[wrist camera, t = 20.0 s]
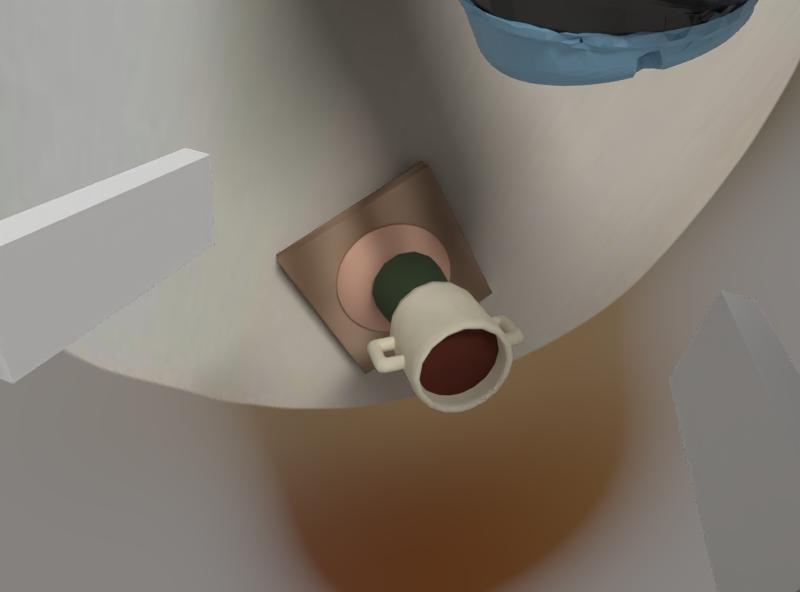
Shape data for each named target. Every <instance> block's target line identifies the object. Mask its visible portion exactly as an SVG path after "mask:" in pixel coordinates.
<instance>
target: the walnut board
mask: <svg viewBox="0 0 800 592" xmlns="http://www.w3.org/2000/svg"><path fill="white" fill-rule="evenodd" d="M414 251H415V252H418V253H421V254H424V255H427V256H430V257H431V258H432V259H433V260H434V261H435V262H436V263H437V264H438V266H439V267H440V268H441V270H442V271H443V273H444V275H445V276H446V278H447V280H448V282H451V283H453V284H455V285H457V286H459V287H461V288H463V289H465V290H466V291H468V292H469V293H470V294H471V295H472V296H473V298H474V299H475V300H476V301H477V302H479V301H481V300H482V299H484V298H485V297H487V296H489V295H490V294H492V292H491V290H490V288H489V286H488V284H487V282H486V280H485V278H484V276H483V274H482V272H481V270H480V268H479V266H478V264H477V262H476V260H475V258H474V256H473V254H472V252H471V250H470V248H469V246H468V244H467V242H466V240H465V238H464V236H463V234H462V232H461V230H460V228H459V226H458V224H457V222H456V220H455V218H454V216H453V214H452V212H451V210H450V208H449V206H448V204H447V202H446V200H445V198H444V196H443V194H442V192H441V190H440V188H439V186H438V184H437V182H436V180H435V178H434V176H433V174H432V172H431V170H430V168H429V166H428V165H426V164H425V163H424V162H421V163H419V164H418V165H416V166H414V167H413V168H411V169H410V170H408V171H407V172H405V173H403V174H402V175H400V176H399V177H397V178H396V179H394V180H393V181H391V182H389V183H388V184H386V185H385V186H383V187H382V188H380V189H378V190H377V191H375V192H374V193H372V194H371V195H369V196H367V197H366V198H364V199H363V200H361V201H360V202H358V203H356V204H355V205H353V206H352V207H350V208H349V209H347V210H346V211H344V212H342V213H341V214H339V215H338V216H336V217H335V218H333V219H331V220H330V221H328V222H327V223H325V224H324V225H322V226H320V227H319V228H317V229H316V230H314V231H313V232H311V233H309V234H308V235H306V236H305V237H303V238H302V239H300V240H299V241H297V242H295V243H294V244H292V245H291V246H289V247H288V248H286V249H284V250H283V251H281V252H280V253H278V254H277V260H278V263H279V264H280V265H281V267H282V268H283V269H284V270H285V272H286V273H287V274H288V276H289V277H290V278H291V279H292V281H293V282H294V283H295V284H296V286H297V287H298V288H299V290H300V291H301V292H302V293H303V295H304V296H305V297H306V299H307V300H308V301H309V302H310V304H311V305H312V306H313V307H314V309H315V310H316V311H317V313H318V314H319V315H320V316H321V318H322V319H323V320H324V322H325V323H326V324H327V325H328V327H329V328H330V329H331V331H332V332H333V333H334V334H335V336H336V337H337V338H338V339H339V341H340V342H341V343H342V345H343V346H344V347H345V348H346V350H347V351H348V352H349V354H350V355H351V356H352V357H353V359H354V360H355V361H356V362H357V364H358V365H359V366H360V368H361V369H362V370H363V371H364V373H365V374H366V373H368V372H369V371H371V370H372V369H374V368H375V367H374V365H373V362H372V360H371V358H370V355H369V353H368V351H367V345H368V343H369V342H370V341H372V340H375V339H380V338H385V337H390V329H391V323H390V322H389V321H388V320H387V319H386V318H385V317H384V316H383V314H382V313H381V312H380V310H379V309H378V308H377V306H376V304H375V301H374V298H373V294H372V292H373V286H374V280H375V277H376V276H377V274H378V272H379V271H380V269H381V268H382V266H383V265H384V263H386V262H387V261H389V260H390V259H392V258H393V257H395V256H396V255H398V254H401V253H408V252H414ZM383 353H384V355H385V357H392V356H394V355H396V354H395V352H394V350H391V351H386V352H383Z"/></svg>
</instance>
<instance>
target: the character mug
mask: <svg viewBox="0 0 800 592" xmlns="http://www.w3.org/2000/svg"><path fill="white" fill-rule="evenodd" d="M372 294H373V298H374V301H375V304H376V306H377V308H378V309H379V310H380V312H381V313H382V314H383V316H384V317H385V318H386V319H387V320H388V321H389V322H390V323H391V329H390V337H385V338H380V339H375V340H372V341H370V342H369V343H368V345H367V351H368V353H369V355H370V358H371V360H372V362H373V365H374V367H375V368H376V370H377V371H379V372H380V373H388V372H393V371H397V370H402V369H403V371H404V373H405V374H406V376H407V378H408V380H409V382H410V384H411V386H412V388H413V390H414V392H415V393H416V395H417V396H418V397H419V398H420V399H421V400H422V401H423V402H424V403H425V404H426V405H427V406H428V407H430V408H432V409H435V410H438V411H441V412H448V413H449V412H450V413H456V412H463V411H466V410H469V409H472V408H474V407H476V406H478V405H480V404H482V403H484V402H485V401H486V400H487V399H489V398H490V397H491V396H492V395H493V394H495V393H496V392H497V391H498V390H499V388H500V387H501V385H502V384H503V383H504V381H505V380H506V378H507V377H508V375H509V372H510V368H511V365H512V362H513V359H514V358H513V352H512V346H514V345H518V344H520V343H521V342H522V341H523V340H524V337H523V334H522V332H521V330H520V329H519V328H518V327H517V326H516V325H515V324H514V323H513V322H512V321H511V320H510V319H509V317H507V316H505V315H496V316H491V317H490V316H489V314H488V313H487V312H486V311H485V310H484V309H483V308H482V307H481V305H480V304H479V303H478V302H477V301H476V300H475V299H474V298H473V296H472V295H471V294H470V293H469V292H468V291H466V290H465V289H463V288H461V287H459V286H457V285H455V284H453V283H451V282H448V280H447V278H446V276H445V275H444V273H443V271H442V270H441V268H440V267H439V266H438V264H437V263H436V262H435V261H434V260H433V259H432V258H431V257H430V256H427V255H424V254H421V253H418V252H415V251H414V252H408V253H401V254H398V255H396V256H395V257H393V258H392V259H390V260H389V261H387V262H386V263H384V265H383V266H382V268H381V269H380V271H379V272H378V274H377V276H376V277H375V280H374V286H373V292H372ZM501 329H502V330H501ZM391 350H394V352H395V354H396V356H392V357H385V355H384V353H383V352H386V351H391Z"/></svg>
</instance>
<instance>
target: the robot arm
mask: <svg viewBox="0 0 800 592" xmlns="http://www.w3.org/2000/svg"><path fill="white" fill-rule="evenodd" d="M459 2H460V3H461V5H462V6H463V7H464V9H465V12H466V14H467V17H468V20H469V22H470V25H471V28H472V30H473V33H474V36H475V39H476V41H477V44H478V47H479V49H480V51H481V52H482V54H483V56H484V57H485V58H486V60H487V61H488V62H489V63H490V64H491V65H492V66H493V67H494V68H496V69H497V70H499V71H500V72H502V73H503V74H505V75H507V76H509V77H512V78H514V79H517V80H521V81H524V82H528V83H534V84H542V85H555V86H575V85H592V84H600V83H607V82H614V81H619V80H624V79H628V78H632V77H633V76H634V75H635V73H636V72H638V71H639V70H641V69H643V68H654V69H666V68H669V67H672V66H675V65H678V64H681V63H684V62H686V61H689V60H692V59H694V58H696V57H698V56H701V55H703V54H705V53H707V52H709V51H710V50H712V49H714V48H716V47H718V46H719V45H721V44H723V43H724V42H726V41H727V40H728V39H730V38H731V37H732V36H733V35H734V34H735V33H736V32H737V31H738V30H739V29H740V28H741V27H742V26H743V25H744V24H745V23H746V22H747V21H748V20H749V18H750V16H751V15H752V13H753V10H754V6H755V5H756V4H757V2H758V0H459ZM214 245H215V244H214V223H213V202H212V181H211V159H210V154H206V153H202V152H199V151H195V150H191V149H187V148H184V149H182V150H179V151H176V152H174V153H171V154H169V155H166V156H164V157H161V158H159V159H156V160H154V161H151V162H148V163H146V164H143V165H141V166H138V167H136V168H133V169H131V170H128V171H126V172H123V173H120V174H118V175H115V176H113V177H110V178H108V179H105V180H103V181H100V182H97V183H95V184H92V185H90V186H87V187H85V188H82V189H80V190H77V191H75V192H72V193H69V194H67V195H64V196H62V197H59V198H57V199H54V200H52V201H49V202H47V203H44V204H41V205H39V206H36V207H34V208H31V209H29V210H26V211H24V212H21V213H18V214H16V215H13V216H11V217H8V218H6V219H3V220H1V221H0V379H2V380H5V381H7V382H10V383H15V382H16V381H17V380H19V379H20V378H22V377H23V376H25V375H26V374H28V373H29V372H31V371H32V370H34V369H35V368H36V367H38V366H39V365H41V364H42V363H44V362H45V361H47V360H48V359H50V358H51V357H52V356H54V355H55V354H57V353H58V352H60V351H61V350H63V349H64V348H65V347H67V346H68V345H70V344H71V343H73V342H74V341H76V340H77V339H79V338H80V337H81V336H83V335H84V334H86V333H87V332H89V331H90V330H92V329H93V328H95V327H96V326H97V325H99V324H100V323H102V322H103V321H105V320H106V319H108V318H109V317H110V316H112V315H113V314H115V313H116V312H118V311H119V310H121V309H122V308H124V307H125V306H126V305H128V304H129V303H131V302H132V301H134V300H135V299H137V298H138V297H140V296H141V295H142V294H144V293H145V292H147V291H148V290H150V289H151V288H153V287H154V286H155V285H157V284H158V283H160V282H161V281H163V280H164V279H166V278H167V277H169V276H170V275H171V274H173V273H174V272H176V271H177V270H179V269H180V268H182V267H183V266H185V265H186V264H187V263H189V262H190V261H192V260H193V259H195V258H196V257H198V256H199V255H200V254H202V253H203V252H205V251H206V250H208V249H209V248H211V247H212V246H214ZM668 380H669V385H670V389H671V394H672V398H673V402H674V406H675V411H676V415H677V420H678V424H679V428H680V433H681V437H682V441H683V446H684V450H685V455H686V459H687V464H688V468H689V472H690V477H691V481H692V485H693V489H694V494H695V499H696V503H697V507H698V512H699V516H700V520H701V525H702V529H703V533H704V538H705V542H706V547H707V551H708V555H709V560H710V564H711V568H712V572H713V577H714V581H715V586H716V590H717V592H800V375H799V373H798V371H797V370H796V368H795V366H794V364H793V363H792V361H791V359H790V357H789V356H788V354H787V352H786V350H785V349H784V347H783V345H782V344H781V342H780V340H779V338H778V337H777V335H776V333H775V332H774V330H773V328H772V326H771V325H770V323H769V321H768V319H767V318H766V316H765V314H764V312H763V311H762V309H761V307H760V305H759V304H758V302H757V300H756V299H753V298H750V297H746V296H742V295H738V294H734V293H731V292H727V291H723V290H720V291H719V293H718V295H717V297H716V298H715V300H714V301H713V303H712V305H711V307H710V308H709V310H708V312H707V314H706V315H705V317H704V319H703V320H702V322H701V324H700V326H699V327H698V329H697V331H696V333H695V334H694V336H693V338H692V339H691V341H690V343H689V345H688V346H687V348H686V350H685V351H684V353H683V355H682V357H681V359H680V360H679V362H678V364H677V366H676V367H675V369H674V370H673V372H672V374H671V376H670V377H669V379H668Z"/></svg>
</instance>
